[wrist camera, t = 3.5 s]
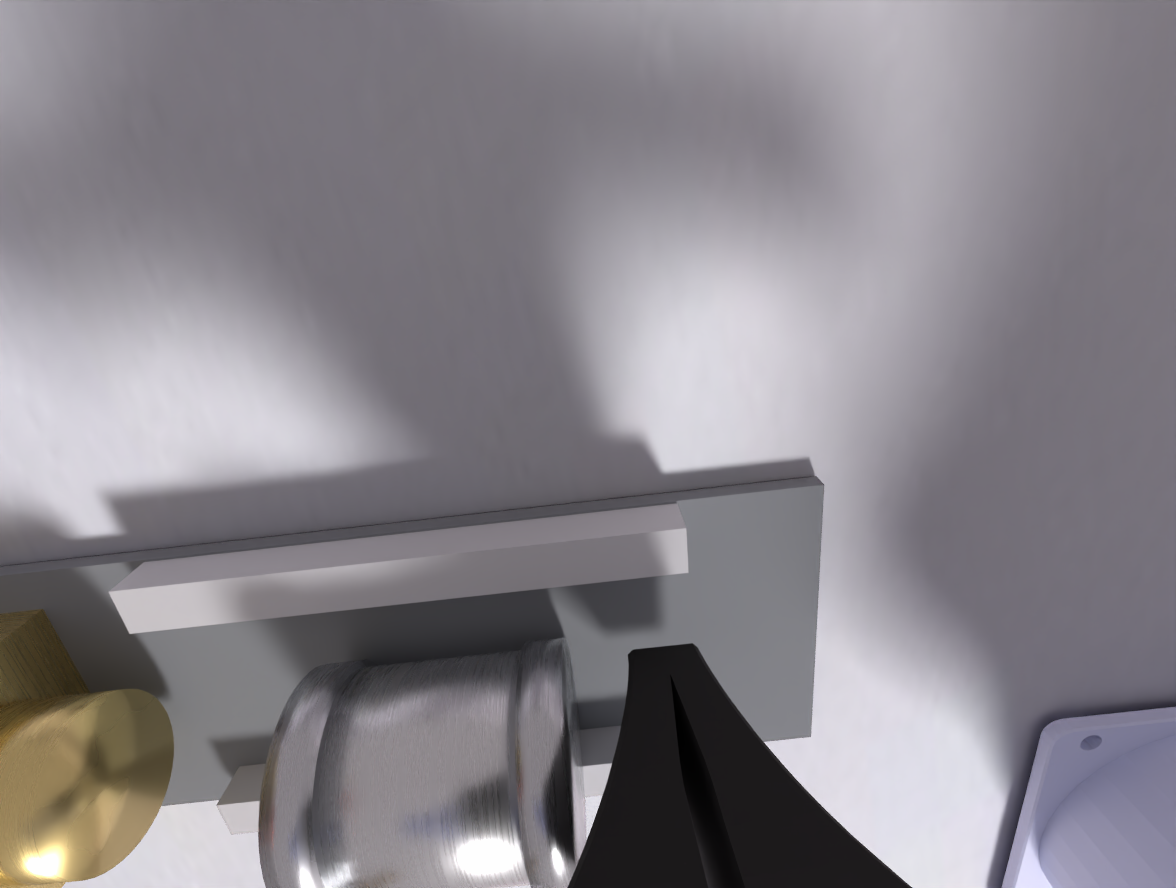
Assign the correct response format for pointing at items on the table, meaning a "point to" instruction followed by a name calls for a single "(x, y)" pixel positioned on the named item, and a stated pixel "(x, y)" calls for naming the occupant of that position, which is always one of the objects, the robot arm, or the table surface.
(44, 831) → the valve
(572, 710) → the coupling
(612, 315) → the table surface
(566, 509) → the grey railed tray
